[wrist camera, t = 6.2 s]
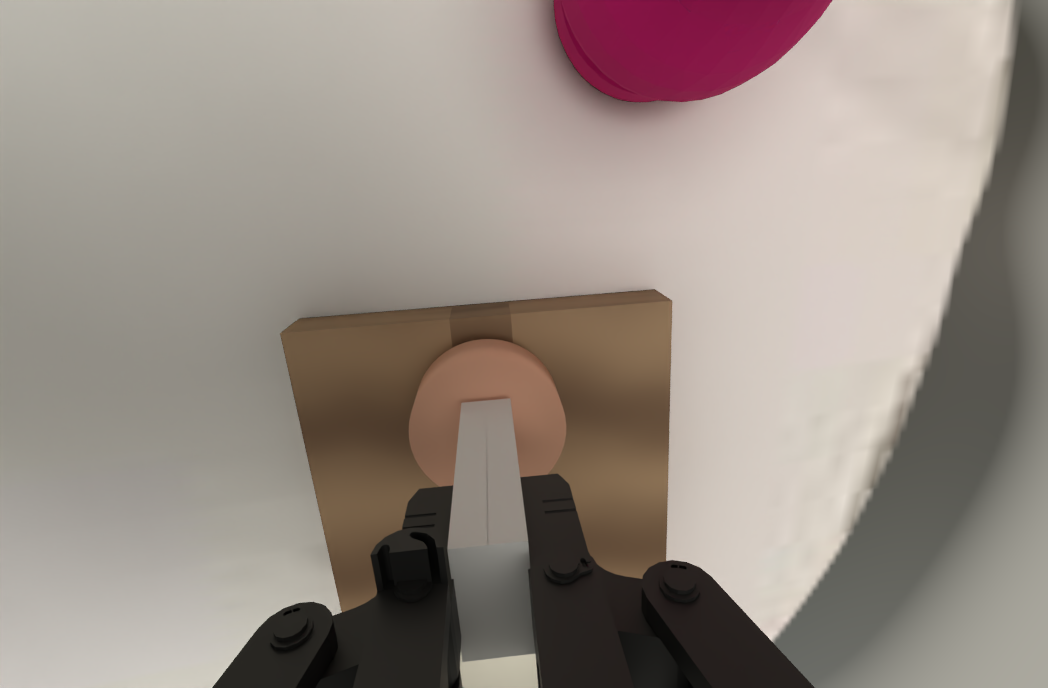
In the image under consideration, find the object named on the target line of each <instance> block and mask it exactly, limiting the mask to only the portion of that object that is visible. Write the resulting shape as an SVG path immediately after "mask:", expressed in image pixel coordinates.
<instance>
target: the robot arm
mask: <svg viewBox="0 0 1048 688" xmlns="http://www.w3.org/2000/svg"><path fill="white" fill-rule="evenodd" d="M370 556H371V561H372V567H373V572H374V577H375V582H376V588H377V594H376V596H375V597H374V598H372V599H371V600H369V601H368V602H366V603H364V604H362V605H360V606H358V607H355V608H353V609H350V610H348V611H345V612H342V613H339V614H337V615H334V616H332V614H331V612H330V611H329V610H328V608H327V607H326V606H325V605H322V604H319V603H315V602H306V603H298V604H295V605H292V606H289V607H286V608H284V609H282V610H281V611H279V612H277V613H276V614H274V615H272V616H271V617H269V618H268V619H267V620H266V621H265V622H264V623H263V624H262V625H261V626H260V627H259V628H258V629H257V631H256V632H255V633H254V635H253V636H252V637H251V638H250V640H249V641H248V642H247V644H246V645H245V646H244V647H243V649H242V650H241V651H240V653H239V654H238V655H237V657H236V658H235V659H234V660H233V662H232V663H231V664H230V666H229V667H228V668H227V669H226V671H225V672H224V673H223V675H222V676H221V677H220V678H219V680H218V681H217V682H216V684H215V685H214V686H213V688H463V687H462V680H461V673H460V655H462V662H468V661H476V660H485V659H493V658H502V657H510V656H519V655H527V654H536V666H537V679H538V688H814V686H813V685H811V683H810V682H809V681H808V680H807V679H806V678H805V677H804V676H803V675H802V674H801V673H800V672H799V671H798V669H797V668H796V667H795V666H794V665H793V664H792V663H791V662H790V661H789V660H788V659H787V657H786V656H785V655H784V654H783V653H782V652H781V651H780V650H779V649H778V648H777V647H776V646H775V645H774V644H773V642H772V641H771V640H770V639H769V638H768V637H767V636H766V635H765V634H764V633H763V632H762V631H761V630H760V628H759V627H758V626H757V625H756V624H755V623H754V622H753V621H752V620H751V619H750V618H749V617H748V616H747V615H746V613H745V612H744V611H743V610H742V609H741V608H740V607H739V606H738V605H737V604H736V603H735V602H734V601H733V600H732V598H731V597H730V596H729V595H728V594H727V593H726V592H725V591H724V590H723V589H722V588H721V587H720V586H719V584H718V583H717V582H716V581H715V580H714V579H713V578H712V577H711V576H710V575H709V574H707V573H706V572H705V571H703V570H702V569H701V568H699V567H697V566H694V565H692V564H690V563H687V562H681V561H674V560H671V561H664V562H658V563H657V564H655V565H653V566H651V567H649V568H648V569H647V571H646V572H645V573H644V575H643V578H642V579H640V578H633V577H626V576H621V575H617V574H614V573H611V572H609V571H607V570H605V569H603V568H602V567H600V566H599V565H597V563H596V562H595V560H594V558H593V557H592V556H590V554H589V552H588V548H587V545H586V541H585V538H584V534H583V531H582V527H581V524H580V520H579V517H578V513H577V511H576V506H575V503H574V500H573V496H572V492H571V489H570V485H569V483H568V482H566V481H565V480H564V479H563V478H562V477H561V476H560V475H559V474H548V475H538V476H528V477H520V472H519V464H518V456H517V448H516V440H515V432H514V424H513V416H512V408H511V400H510V398H508V399H497V400H486V401H475V402H464V403H461V412H460V422H459V433H458V443H457V454H456V464H455V474H454V485H452V486H442V487H432V488H422V489H419V490H418V491H417V492H416V493H415V494H414V495H413V497H412V498H411V499H410V500H409V501H408V504H407V509H406V513H405V519H404V522H403V526H402V530H399V531H396V532H394V533H392V534H390V535H388V536H386V537H385V538H384V539H382V540H381V541H380V542H379V543H378V544H377V545H376V546H375V547H374V549H373V551H372V553H371V554H370Z"/></svg>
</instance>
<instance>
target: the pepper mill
mask: <svg viewBox="0 0 1048 688" xmlns="http://www.w3.org/2000/svg"><path fill="white" fill-rule="evenodd" d="M831 2H832V0H554V12H555V21H556V25H557V30H558V34H559V37H560V39H561V42H562V44H563V47H564V49H565V52H566V54H567V56H568V57H569V59H570V60H571V62H572V64H573V65H574V67H575V69H576V70H577V71H578V72H579V73H580V74H581V76H582V77H583V78H584V79H585V80H586V81H588V82H589V83H590V84H591V85H592V86H594V87H595V88H597V89H598V90H600V91H601V92H603V93H605V94H607V95H609V96H612V97H614V98H617V99H620V100H624V101H630V102H651V101H656V100H661V101H676V102H685V101H694V100H702V99H706V98H709V97H713V96H716V95H719V94H722V93H724V92H726V91H728V90H731V89H733V88H735V87H737V86H739V85H741V84H743V83H744V82H746V81H748V80H750V79H751V78H753V77H755V76H757V75H758V74H760V73H761V72H763V71H764V70H766V69H767V68H769V67H770V66H772V65H773V64H775V63H776V62H777V61H778V60H779V59H780V58H781V57H782V56H784V55H785V54H786V53H787V52H788V51H789V50H790V49H791V48H792V47H793V46H794V45H795V44H796V43H797V42H798V41H799V40H800V39H801V38H802V37H803V36H804V35H805V34H806V33H807V32H808V31H809V30H810V28H811V27H812V26H813V25H814V24H815V23H816V22H817V20H818V19H819V18H820V17H821V16H822V14H823V13H824V11H825V10H826V9H827V7H828V6H829V4H830V3H831Z"/></svg>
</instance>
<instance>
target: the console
mask: <svg viewBox="0 0 1048 688" xmlns="http://www.w3.org/2000/svg"><path fill="white" fill-rule="evenodd" d="M671 328H672V300H670V299H669V298H667V297H666V296H664V295H662V294H661V293H659V292H658V291H656V290H643V291H631V292H618V293H606V294H594V295H582V296H569V297H557V298H545V299H533V300H521V301H508V302H496V303H484V304H472V305H460V306H447V307H435V308H423V309H411V310H399V311H386V312H374V313H362V314H350V315H337V316H325V317H313V318H301V319H298V320H297V321H296V322H294V323H293V324H292V325H290V326H289V327H288V328H286V329H285V330H284V331H283V332H281V333H280V335H281V339H282V344H283V348H284V353H285V358H286V362H287V367H288V371H289V376H290V380H291V385H292V389H293V394H294V398H295V403H296V407H297V412H298V416H299V421H300V425H301V430H302V434H303V439H304V443H305V448H306V452H307V457H308V462H309V466H310V471H311V475H312V480H313V484H314V489H315V493H316V498H317V502H318V507H319V511H320V516H321V520H322V525H323V529H324V534H325V538H326V543H327V547H328V552H329V556H330V561H331V566H332V570H333V575H334V579H335V584H336V588H337V593H338V597H339V602H340V606H341V611H342V612H345V611H348V610H350V609H353V608H355V607H358V606H360V605H362V604H364V603H366V602H368V601H369V600H371V599H372V598H374V597H375V596H376V594H377V588H376V582H375V577H374V572H373V567H372V561H371V556H370V554H371V553H372V551H373V549H374V547H375V546H376V545H377V544H378V543H379V542H380V541H381V540H382V539H384V538H385V537H386V536H388V535H390V534H392V533H394V532H396V531H399V530H402V526H403V522H404V519H405V513H406V509H407V504H408V501H409V500H410V499H411V498H412V497H413V495H414V494H415V493H416V492H417V491H418V490H419V489H422V488H432V487H439V486H438V485H437V484H435V483H434V482H433V481H432V480H431V479H430V478H429V477H428V476H427V475H426V474H425V473H424V472H423V471H422V469H421V468H420V467H419V465H418V463H417V461H416V460H415V458H414V455H413V452H412V450H411V446H410V441H409V420H410V416H411V411H412V408H413V405H414V401H415V398H416V395H417V392H418V388H419V385H420V383H421V380H422V378H423V376H424V374H425V373H426V371H427V370H428V368H429V367H430V366H431V364H432V363H433V362H434V361H435V360H436V359H437V358H438V357H439V356H441V355H442V354H443V353H445V352H446V351H448V350H449V349H451V348H453V347H455V346H457V345H460V344H462V343H465V342H469V341H473V340H480V339H496V340H503V341H507V342H511V343H513V344H516V345H519V346H521V347H523V348H525V349H526V350H528V351H529V352H531V353H532V354H534V355H535V356H536V357H537V358H538V359H539V360H540V361H541V362H542V363H543V364H544V366H545V367H546V368H547V370H548V371H549V373H550V375H551V376H552V379H553V381H554V384H555V386H556V389H557V392H558V395H559V398H560V401H561V403H562V406H563V410H564V413H565V418H566V438H565V444H564V447H563V450H562V453H561V455H560V457H559V459H558V461H557V462H556V464H555V465H554V467H553V469H552V470H551V471H550V472H549V473H548V474H559V475H560V476H561V477H562V478H563V479H564V480H565V481H566V482H568V483H569V485H570V489H571V492H572V496H573V500H574V503H575V506H576V511H577V513H578V517H579V520H580V524H581V527H582V531H583V534H584V538H585V541H586V545H587V548H588V552H589V554H590V556H592V557H593V558H594V560H595V562H596V563H597V565H599V566H600V567H602V568H603V569H605V570H607V571H609V572H611V573H614V574H617V575H621V576H626V577H633V578H640V579H642V578H643V575H644V573H645V572H646V571H647V569H648V568H649V567H651V566H653V565H655V564H657V563H658V562H664V561H666V539H667V497H668V455H669V412H670V370H671ZM548 474H547V475H548Z"/></svg>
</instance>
